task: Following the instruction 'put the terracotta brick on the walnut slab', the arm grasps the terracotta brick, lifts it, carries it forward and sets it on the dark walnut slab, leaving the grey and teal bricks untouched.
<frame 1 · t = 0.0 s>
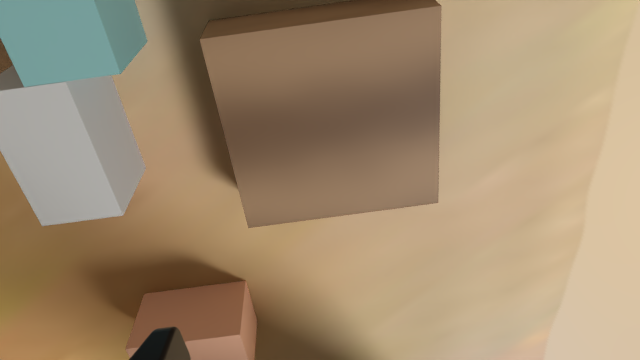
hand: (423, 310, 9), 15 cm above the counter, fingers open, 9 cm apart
terracotta brick: (202, 306, 29), on the counter
grey brick: (88, 116, 22), on the counter
walnut slab: (327, 101, 23), on the counter
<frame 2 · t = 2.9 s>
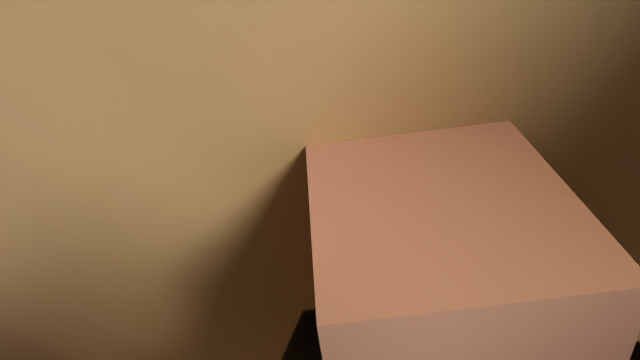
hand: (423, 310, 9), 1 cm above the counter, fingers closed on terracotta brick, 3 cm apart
terracotta brick: (408, 260, 10), on the counter, touching gripper
when the fingers open (5 cm above the counter, at t = 7.0 s): terracotta brick drops 2 cm, point 2 cm above the counter.
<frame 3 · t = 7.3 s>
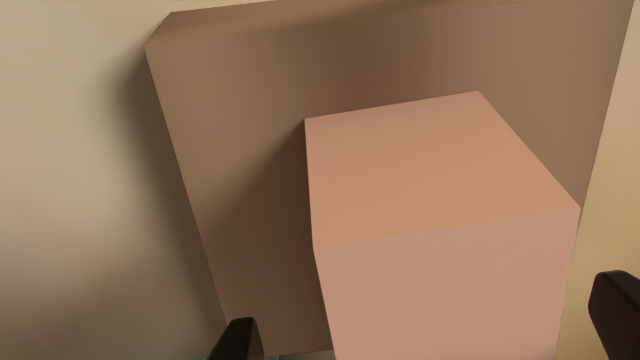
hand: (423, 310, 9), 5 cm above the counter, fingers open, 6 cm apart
terracotta brick: (399, 222, 11), point 2 cm above the counter
walnut slab: (373, 152, 14), on the counter
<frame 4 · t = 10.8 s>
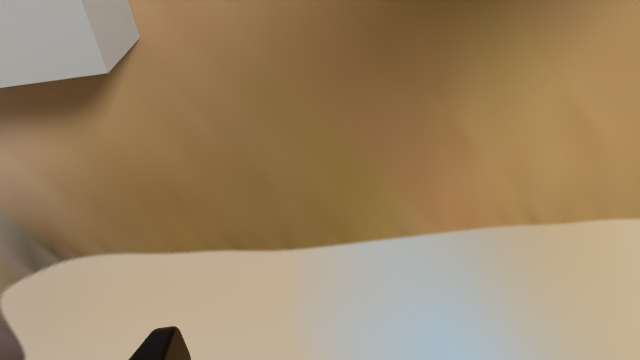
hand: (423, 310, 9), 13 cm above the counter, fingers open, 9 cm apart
grey brick: (45, 1, 18), on the counter
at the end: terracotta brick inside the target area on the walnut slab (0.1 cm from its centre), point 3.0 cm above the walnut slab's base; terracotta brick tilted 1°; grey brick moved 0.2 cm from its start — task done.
